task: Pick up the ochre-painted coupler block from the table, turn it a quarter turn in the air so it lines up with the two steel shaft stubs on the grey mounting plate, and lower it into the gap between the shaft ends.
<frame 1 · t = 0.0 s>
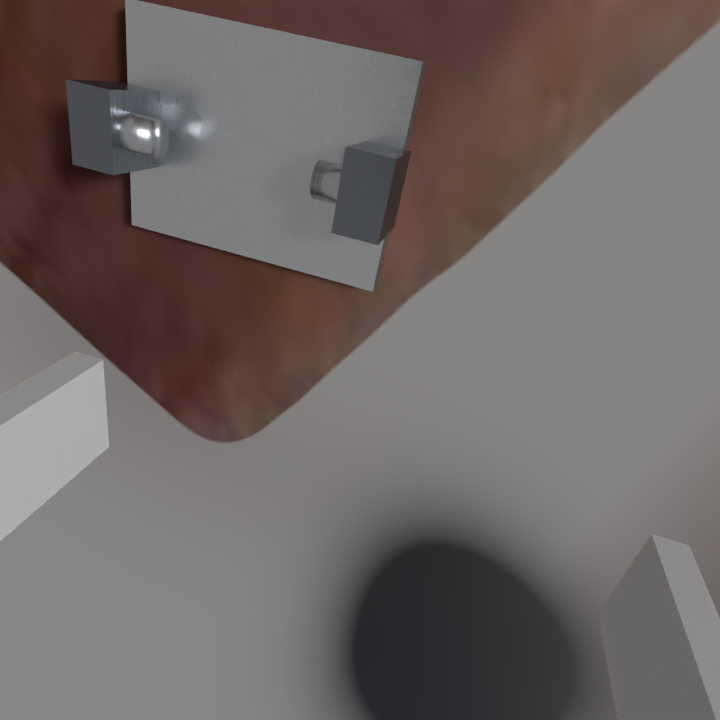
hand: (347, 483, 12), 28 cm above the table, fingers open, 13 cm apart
grey mounting plate: (268, 152, 37), on the table
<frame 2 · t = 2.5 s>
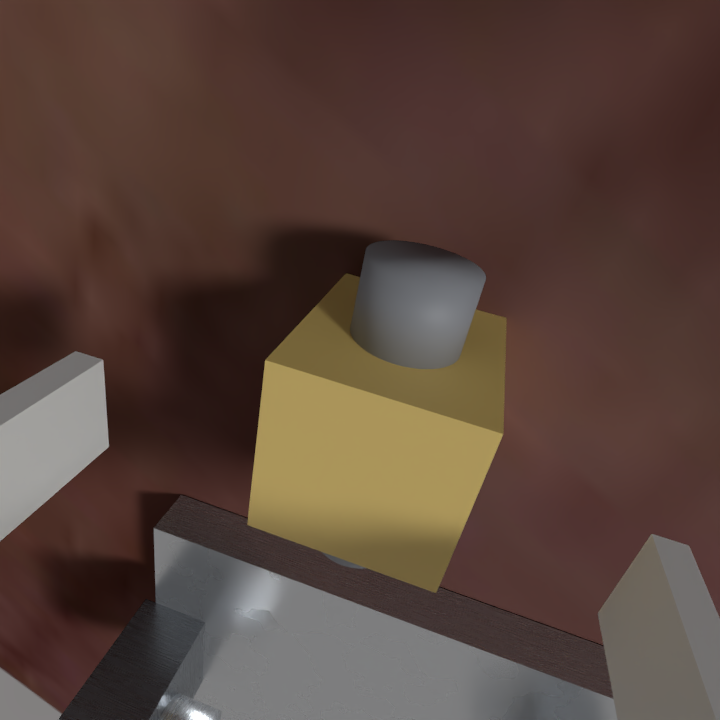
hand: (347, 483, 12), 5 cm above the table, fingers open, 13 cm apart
grey mounting plate: (364, 670, 25), on the table
coupler: (405, 364, 17), on the table
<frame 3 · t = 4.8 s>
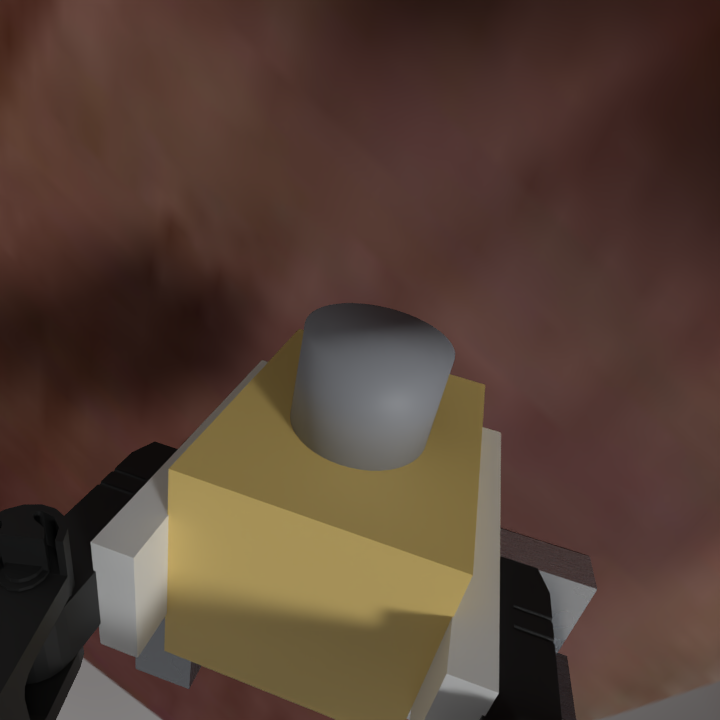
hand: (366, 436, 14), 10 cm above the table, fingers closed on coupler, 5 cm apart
grey mounting plate: (369, 589, 30), on the table
coupler: (369, 432, 14), point 9 cm above the table, touching gripper
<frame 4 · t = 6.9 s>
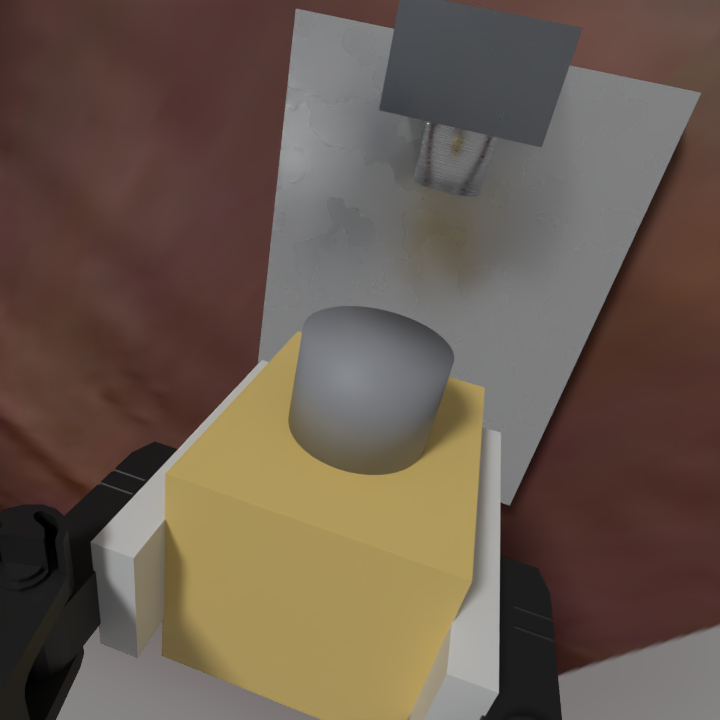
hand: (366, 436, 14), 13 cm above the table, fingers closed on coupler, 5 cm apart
grey mounting plate: (426, 285, 25), on the table
coupler: (368, 435, 14), point 13 cm above the table, touching gripper
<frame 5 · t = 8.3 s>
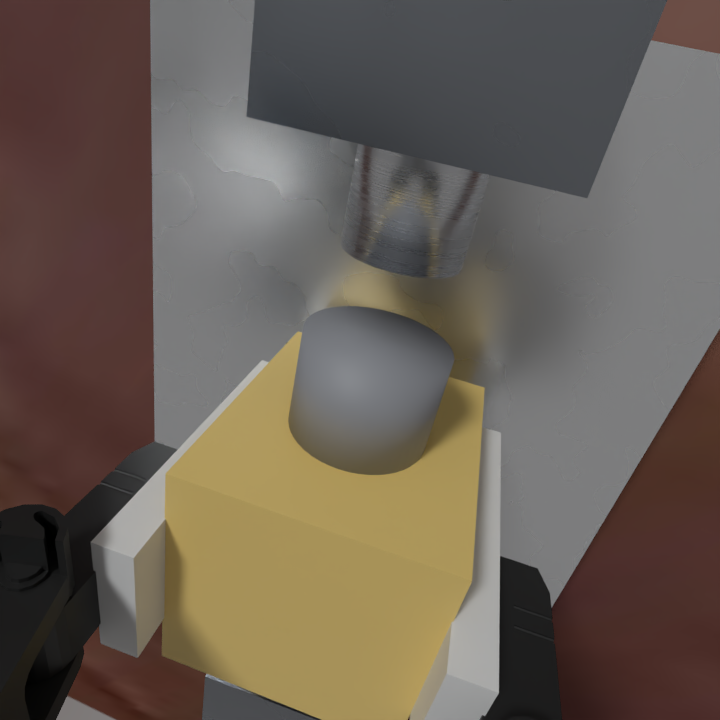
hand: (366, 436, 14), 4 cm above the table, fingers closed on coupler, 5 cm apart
grey mounting plate: (390, 370, 17), on the table
coupler: (368, 435, 14), point 3 cm above the table, touching gripper
when the fingers open (2 cm above the table, at t = 9.0 s): coupler stays where it is, resting on grey mounting plate.
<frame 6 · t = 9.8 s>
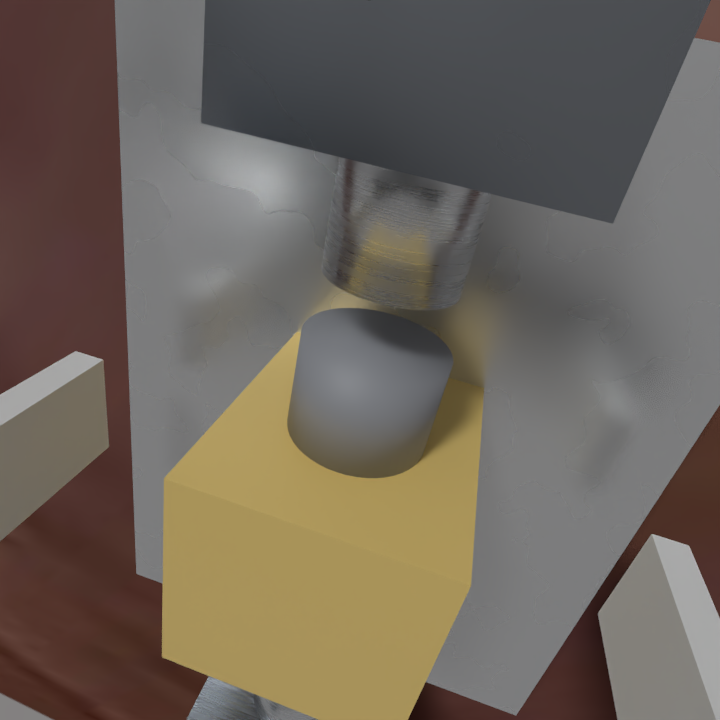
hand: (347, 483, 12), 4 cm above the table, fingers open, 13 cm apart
grey mounting plate: (384, 393, 16), on the table
coupler: (368, 435, 14), point 2 cm above the table, touching grey mounting plate
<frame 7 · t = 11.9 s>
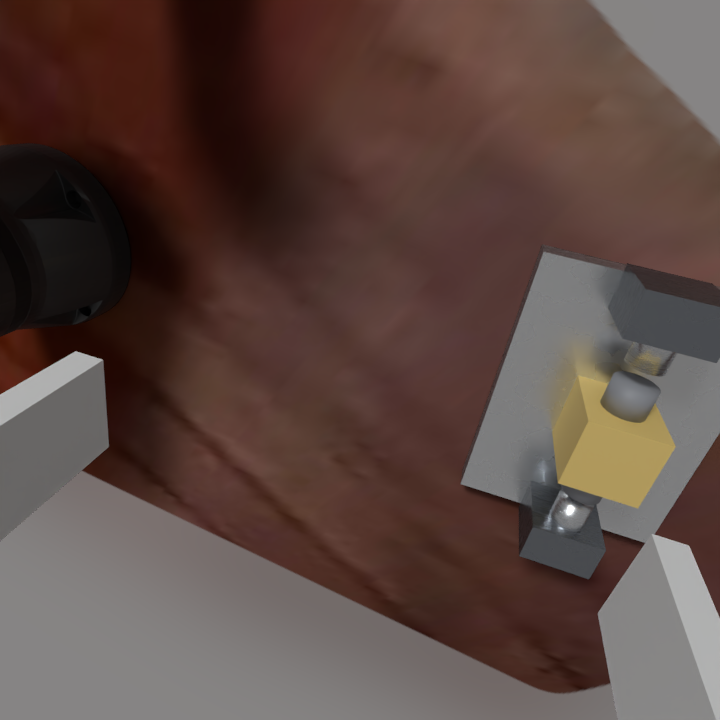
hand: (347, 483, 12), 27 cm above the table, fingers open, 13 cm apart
grey mounting plate: (597, 398, 38), on the table
coupler: (599, 414, 36), point 2 cm above the table, touching grey mounting plate
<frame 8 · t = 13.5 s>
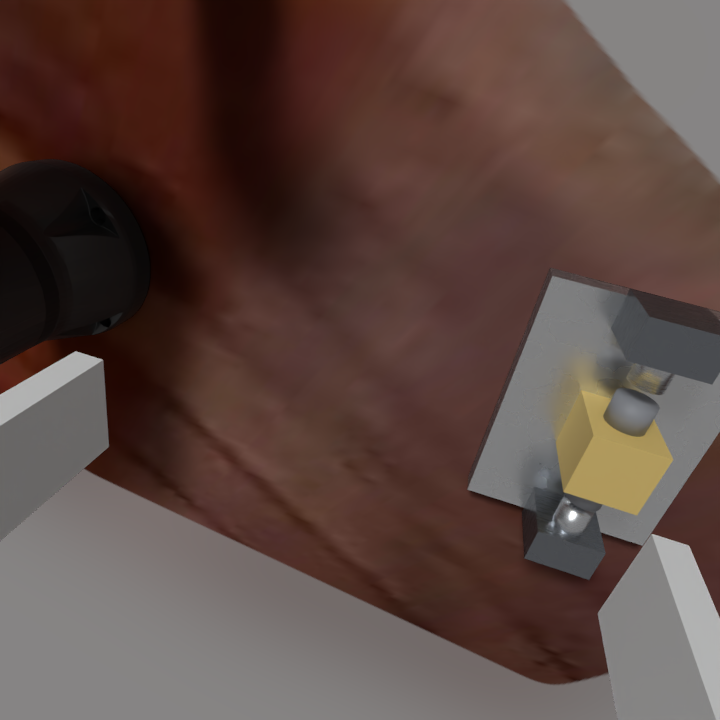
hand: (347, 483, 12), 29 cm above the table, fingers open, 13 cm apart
grey mounting plate: (597, 410, 40), on the table
coupler: (600, 426, 39), point 2 cm above the table, touching grey mounting plate
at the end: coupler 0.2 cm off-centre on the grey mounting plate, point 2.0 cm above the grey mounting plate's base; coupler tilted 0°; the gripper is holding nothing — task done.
